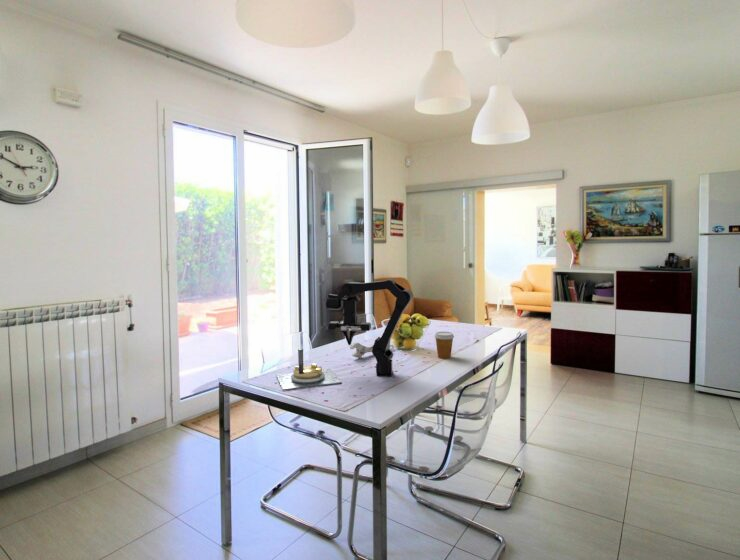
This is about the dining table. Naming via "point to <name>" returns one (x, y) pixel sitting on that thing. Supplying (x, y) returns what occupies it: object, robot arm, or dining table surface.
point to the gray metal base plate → (307, 380)
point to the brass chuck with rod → (306, 369)
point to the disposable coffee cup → (444, 344)
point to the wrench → (363, 349)
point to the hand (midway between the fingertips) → (349, 345)
